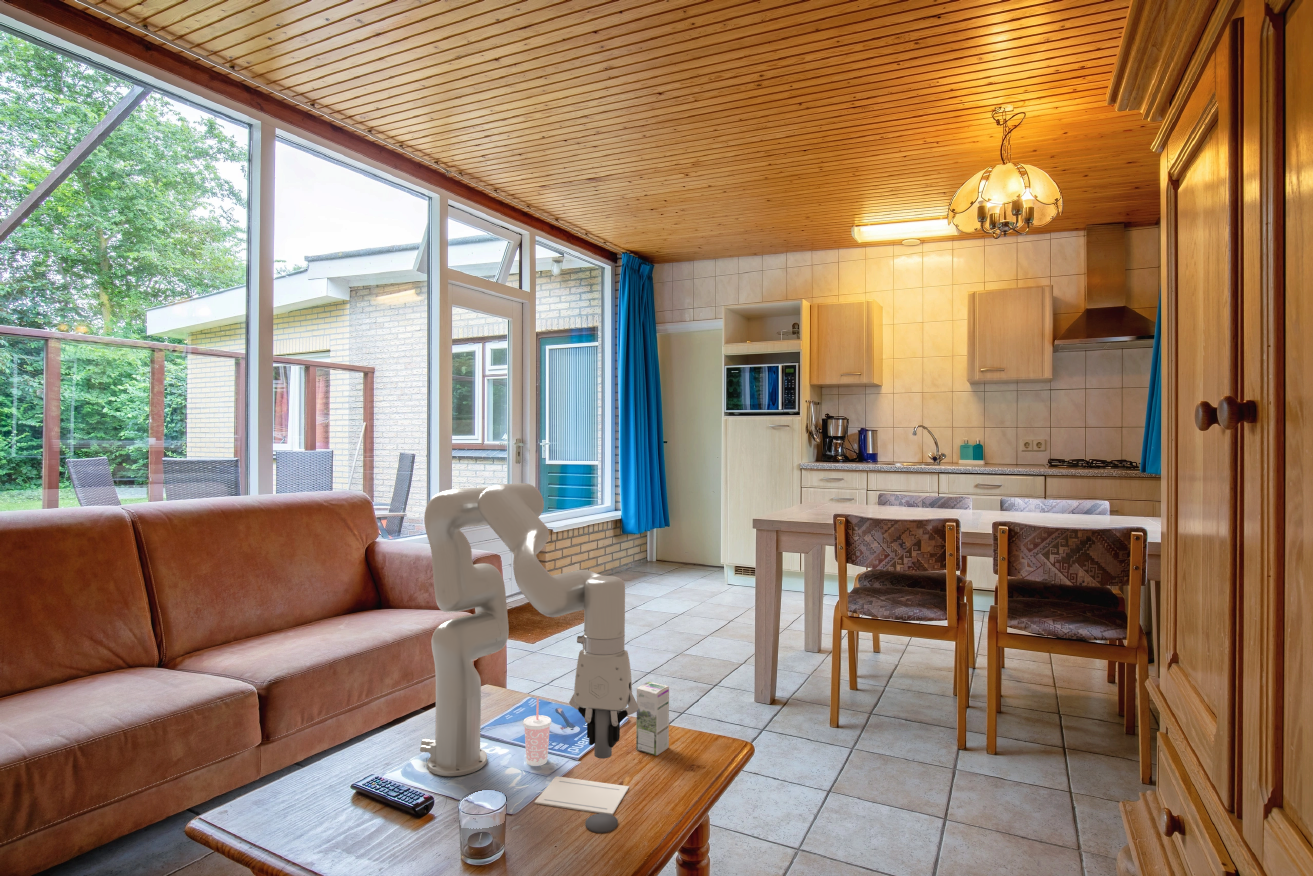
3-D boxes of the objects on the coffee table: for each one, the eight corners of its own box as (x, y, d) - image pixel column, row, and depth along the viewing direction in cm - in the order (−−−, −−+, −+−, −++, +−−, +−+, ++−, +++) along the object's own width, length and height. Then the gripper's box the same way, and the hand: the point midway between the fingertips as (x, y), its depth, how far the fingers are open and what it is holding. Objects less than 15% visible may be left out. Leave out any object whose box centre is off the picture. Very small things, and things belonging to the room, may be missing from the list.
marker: (591, 757, 131) (591, 697, 131) (597, 749, 134) (597, 691, 134) (608, 759, 130) (609, 699, 130) (614, 752, 133) (615, 693, 134)
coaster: (580, 830, 130) (580, 828, 130) (591, 813, 136) (591, 811, 136) (612, 835, 129) (612, 833, 129) (621, 818, 135) (621, 816, 135)
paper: (534, 803, 139) (534, 801, 139) (556, 777, 150) (556, 776, 150) (612, 815, 136) (612, 813, 136) (629, 788, 146) (629, 786, 146)
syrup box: (669, 747, 166) (670, 685, 166) (655, 757, 161) (656, 692, 161) (649, 741, 169) (649, 680, 169) (634, 750, 164) (635, 687, 164)
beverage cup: (517, 765, 156) (518, 701, 156) (530, 753, 161) (531, 691, 161) (543, 769, 154) (544, 704, 154) (555, 757, 160) (556, 694, 160)
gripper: (555, 646, 131) (554, 746, 131) (641, 653, 127) (640, 757, 127) (570, 635, 138) (569, 730, 138) (652, 642, 134) (651, 740, 134)
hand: (603, 742), depth 132 cm, fingers closed on marker, 3 cm apart
